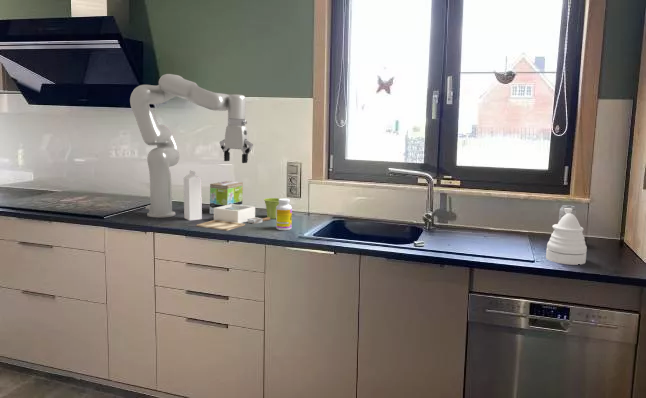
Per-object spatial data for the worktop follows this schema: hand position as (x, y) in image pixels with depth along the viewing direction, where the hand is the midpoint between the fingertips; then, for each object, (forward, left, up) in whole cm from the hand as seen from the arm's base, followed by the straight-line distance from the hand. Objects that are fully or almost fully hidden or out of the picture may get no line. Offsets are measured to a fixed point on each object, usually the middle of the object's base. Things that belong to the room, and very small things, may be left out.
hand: (235, 161), depth 242 cm
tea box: (-16, +14, -27) cm, 34 cm away
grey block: (-3, +2, -26) cm, 26 cm away
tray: (+2, -14, -27) cm, 30 cm away
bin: (-1, 0, -27) cm, 27 cm away
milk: (-18, -8, -27) cm, 33 cm away
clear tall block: (+134, +37, -27) cm, 142 cm away
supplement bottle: (+27, -3, -27) cm, 38 cm away
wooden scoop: (+11, +3, -27) cm, 29 cm away
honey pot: (+136, +9, -27) cm, 139 cm away
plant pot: (+10, +16, -27) cm, 33 cm away
